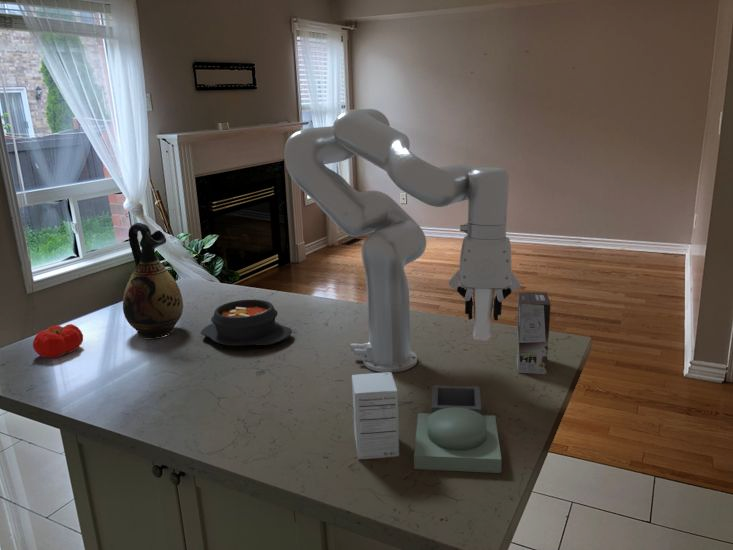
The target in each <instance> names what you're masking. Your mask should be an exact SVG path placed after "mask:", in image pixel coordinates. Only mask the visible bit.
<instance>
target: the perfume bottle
mask: <svg viewBox="0 0 733 550" xmlns="http://www.w3.org/2000/svg"><path fill="white" fill-rule="evenodd" d="M495 291H496V290H495V289H473V292H472V295H473V296H472V299H473V324H474V325H473V328H474V329H473V332H472V335H471V336H472V338H473V340H476V341H477V340H478V341H484V342H486V341H489V339H491V338H492V334H491V331H490V329H491V320H492V315H493V307H494V298H495Z"/></svg>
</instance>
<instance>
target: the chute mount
mask: <svg viewBox="0 0 733 550" xmlns="http://www.w3.org/2000/svg"><path fill="white" fill-rule="evenodd" d="M431 393H432V395H431V396H432V397H431V413H426V412H425V413H424V412H418V413H417V421H416V433H415V439H414V440H415V442H414V443H415V444H414V451H413V469H414V470H430V471H432V470H433V471H449V472H451V471H452V472H469V473H470V472H474V473H491V474H493V473H494V474H502V453H501V446H500V441H499V434H498V426H497V418H496V415H486V414H485V415H483V414H482V410H483V409H482V401H481V392H480V386H470V385H469V386H467V385H466V386H463V385H437V384H436V385H432V392H431Z"/></svg>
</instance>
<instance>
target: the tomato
mask: <svg viewBox="0 0 733 550" xmlns="http://www.w3.org/2000/svg"><path fill="white" fill-rule="evenodd" d="M83 342H84V335H83V333H82V330H81V329H80V328H79V327H77V326H76V325H74V324H72V323H70V324H66V325H65V326H63V327H62V326H61V325H52V326H49V327H48V328H47V329H44V330H41V331H39V332H38V333H37V334H36V335H35V337H34V339H33V342H32V347H33V349H34V351H35V353H37V355H39V356H40V357H43V358H47V359H55V358H58V357H61V356H62V355H64V354H69V353H71V352H73V351H75V350H77V349H78V348H79V347H80V346H81V345H83Z"/></svg>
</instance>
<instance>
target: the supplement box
mask: <svg viewBox="0 0 733 550" xmlns="http://www.w3.org/2000/svg"><path fill="white" fill-rule="evenodd" d="M351 388H352V390H351V391H352V392H351V393H352V411H353V414H352V415H353V430H354V433H353V434H354V439H355V447H356V455H357V459H358V460H368V459H382V458H391V457H392V458H395V457H399V456H400V441H399V440H400V438H399V437H400V436H399V430H400V428H399V393H398V392H399V391H398V388H397V385H396V381H395V379H394V375H393V372H392V373H391V372H373V373H359V374H352V375H351Z"/></svg>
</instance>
